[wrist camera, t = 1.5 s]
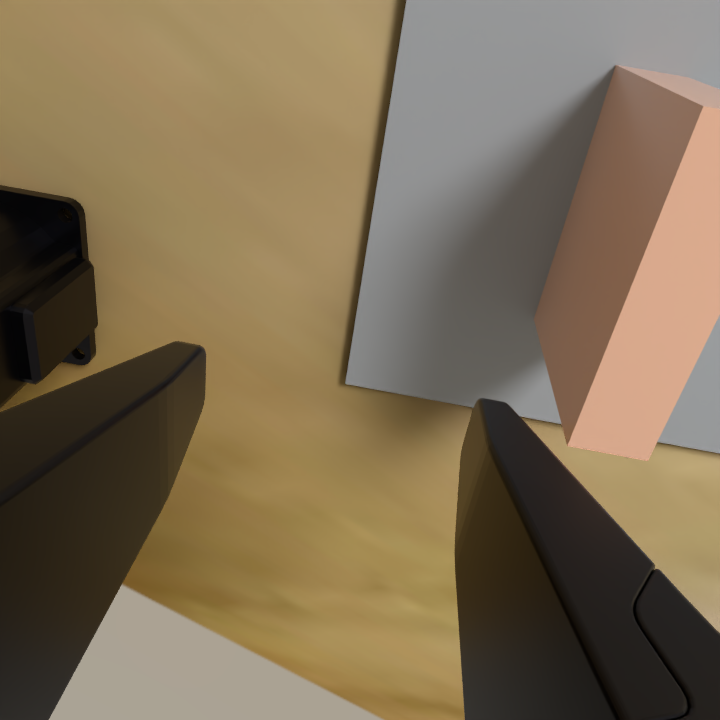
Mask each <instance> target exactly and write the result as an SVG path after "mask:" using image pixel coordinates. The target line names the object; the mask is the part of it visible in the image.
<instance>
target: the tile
mask: <svg viewBox="0 0 720 720" xmlns="http://www.w3.org/2000/svg"><path fill="white" fill-rule="evenodd" d="M719 315H720V89H717V88H715V87H712V86H710V85H707V84H704V83H702V82H699V81H697V80H694V79H691V78H689V77H684V76H678V75H672V74H667V73H661V72H655V71H649V70H643V69H638V68H632V67H626V66H620V65H616V66H615V69H614V72H613V75H612V78H611V81H610V84H609V88H608V91H607V94H606V97H605V100H604V103H603V106H602V109H601V112H600V115H599V118H598V122H597V125H596V128H595V131H594V134H593V137H592V140H591V143H590V146H589V149H588V153H587V156H586V159H585V162H584V165H583V168H582V171H581V174H580V177H579V180H578V184H577V187H576V190H575V193H574V196H573V199H572V202H571V205H570V208H569V211H568V215H567V218H566V221H565V224H564V227H563V230H562V233H561V236H560V239H559V242H558V246H557V249H556V252H555V255H554V258H553V261H552V264H551V267H550V270H549V273H548V277H547V280H546V283H545V286H544V289H543V292H542V295H541V298H540V301H539V304H538V307H537V311H536V314H535V317H534V322H535V326H536V329H537V333H538V337H539V341H540V344H541V348H542V352H543V356H544V359H545V363H546V367H547V371H548V375H549V378H550V382H551V386H552V390H553V393H554V397H555V401H556V405H557V409H558V412H559V416H560V420H561V424H562V427H563V431H564V435H565V439H566V443H567V446H570V447H575V448H581V449H586V450H592V451H597V452H602V453H608V454H613V455H618V456H624V457H629V458H634V459H640V460H645V461H648V460H649V458H650V456H651V454H652V452H653V450H654V448H655V446H656V444H657V441H658V439H659V437H660V435H661V433H662V431H663V429H664V427H665V425H666V423H667V421H668V419H669V417H670V415H671V413H672V411H673V409H674V407H675V405H676V403H677V401H678V399H679V397H680V395H681V393H682V391H683V389H684V387H685V384H686V382H687V380H688V378H689V376H690V374H691V372H692V370H693V368H694V366H695V364H696V362H697V360H698V358H699V356H700V354H701V352H702V350H703V348H704V346H705V344H706V342H707V340H708V338H709V336H710V334H711V332H712V329H713V327H714V325H715V323H716V321H717V319H718V317H719Z"/></svg>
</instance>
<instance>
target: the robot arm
mask: <svg viewBox="0 0 720 720" xmlns="http://www.w3.org/2000/svg"><path fill="white" fill-rule="evenodd" d="M64 208H65V209H67V210H69V211H70V212H71V214H72V219H70V218H68V217H67V216H66V215H65V214H64V211H63V210H64ZM97 325H98V319H97V306H96V293H95V280H94V268H93V265H92V264H91V262H90V261H89V258H88V245H87V233H86V221H85V213H84V209H83V207H82V206H81V204H80V203H78V202H77V201H76V200H74V199H72V198H68V197H63V196H57V195H52V194H46V193H41V192H35V191H30V190H24V189H19V188H13V187H7V186H2V185H0V408H1V407H2V406H3V405H4V404H5V403H6V402H7V401H8V400H10V399H11V398H12V397H13V396H14V395H15V394H16V393H17V392H18V391H19V390H20V389H21V388H22V387H23V386H24V385H25V384H26V383H30V384H37V383H39V382H40V381H42V380H43V379H44V378H45V377H46V376H47V375H48V374H49V373H50V372H51V371H52V370H53V369H54V368H55V367H56V366H57V365H58V364H59V363H60V362H67V363H72V364H77V365H85V364H88V363H89V362H90V361H91V360H92V359H93V357H94V356H95V354H96V345H95V333H94V329H95V328H96V327H97ZM77 348H79V349H81V350H82V351H83V352H84V354H82V353H80V352H79V351H78V349H77ZM205 381H206V352H205V349H204V348H203V347H202V346H200V345H196V344H190V343H185V342H180V341H175V342H172V343H170V344H167V345H165V346H162V347H160V348H157V349H155V350H152V351H150V352H148V353H145V354H143V355H140V356H138V357H135V358H133V359H130V360H128V361H125V362H123V363H120V364H118V365H116V366H113V367H111V368H108V369H106V370H103V371H101V372H98V373H96V374H93V375H91V376H89V377H86V378H84V379H81V380H79V381H76V382H74V383H71V384H69V385H66V386H64V387H61V388H59V389H57V390H54V391H52V392H49V393H47V394H44V395H42V396H39V397H37V398H34V399H32V400H29V401H27V402H24V403H22V404H20V405H17V406H15V407H12V408H10V409H7V410H5V411H2V412H0V720H49V718H50V716H51V714H52V712H53V711H54V709H55V707H56V705H57V703H58V701H59V700H60V698H61V696H62V694H63V692H64V690H65V688H66V687H67V685H68V683H69V681H70V679H71V677H72V676H73V673H74V672H75V670H76V668H77V666H78V664H79V663H80V661H81V659H82V657H83V655H84V653H85V651H86V650H87V648H88V646H89V644H90V642H91V640H92V638H93V637H94V635H95V633H96V631H97V629H98V627H99V625H100V624H101V622H102V620H103V618H104V616H105V614H106V612H107V611H108V609H109V607H110V605H111V603H112V601H113V600H114V598H115V595H116V594H117V592H118V590H119V588H120V586H121V585H122V583H123V581H124V579H125V577H126V575H127V574H128V572H129V570H130V568H131V566H132V564H133V562H134V561H135V559H136V557H137V555H138V553H139V551H140V549H141V548H142V546H143V544H144V542H145V540H146V538H147V536H148V535H149V533H150V531H151V529H152V527H153V525H154V524H155V522H156V520H157V518H158V516H159V514H160V512H161V510H162V508H163V506H164V504H165V502H166V500H167V498H168V496H169V494H170V491H171V489H172V487H173V484H174V482H175V479H176V477H177V474H178V471H179V469H180V466H181V464H182V461H183V458H184V456H185V453H186V451H187V448H188V446H189V443H190V440H191V438H192V435H193V433H194V430H195V427H196V425H197V422H198V420H199V417H200V415H201V412H202V409H203V405H204V400H205ZM654 569H655V565H654V563H653V562H652V561H651V560H650V559H649V558H648V557H647V555H646V554H645V553H644V552H643V551H642V550H641V549H640V548H639V547H638V546H637V545H636V543H635V542H634V541H633V540H632V539H631V538H630V537H629V536H628V535H627V534H626V532H625V531H624V530H623V529H622V528H621V527H620V526H619V525H618V524H617V523H616V522H615V520H614V519H613V518H612V517H611V516H610V515H609V514H608V513H607V512H606V511H605V509H604V508H603V507H602V506H601V505H600V504H599V503H598V502H597V501H596V500H595V499H594V497H593V496H592V495H591V494H590V493H589V492H588V491H587V490H586V489H585V488H584V486H583V485H582V484H581V483H580V482H579V481H578V480H577V479H576V478H575V477H574V475H573V474H572V473H571V472H570V471H569V470H568V469H567V468H566V467H565V466H564V465H563V463H562V462H561V461H560V460H559V459H558V458H557V457H556V456H555V455H554V454H553V452H552V451H551V450H550V449H549V448H548V447H547V446H546V445H545V444H544V443H543V442H542V440H541V439H540V438H539V437H538V436H537V435H536V434H535V433H534V432H533V431H532V429H531V428H530V427H529V426H528V425H527V424H526V423H525V422H524V421H523V420H522V419H521V417H520V416H519V415H518V414H517V413H516V412H515V411H514V410H513V409H512V408H511V406H510V405H508V404H507V403H506V402H502V401H497V400H491V399H486V398H480V399H478V400H477V401H476V403H475V405H474V408H473V411H472V415H471V418H470V422H469V425H468V429H467V432H466V435H465V439H464V442H463V446H462V451H461V458H460V472H459V487H458V502H457V517H456V532H455V574H456V589H457V605H458V620H459V636H460V651H461V667H462V682H463V698H464V713H465V720H720V633H719V632H718V631H717V630H716V629H715V628H714V627H713V626H712V625H711V624H710V623H709V622H708V621H707V620H706V619H705V618H704V617H703V616H702V614H701V613H700V612H699V611H698V610H697V609H696V608H695V607H694V606H693V605H692V604H691V603H690V602H689V601H688V600H687V599H686V598H685V597H684V596H683V595H682V593H681V592H680V591H679V590H678V589H677V588H676V587H675V586H674V585H673V584H672V583H671V581H670V580H669V579H668V578H667V577H666V576H665V575H664V574H663V573H662V572H661V571H660V570H659V569H655V570H654ZM653 570H654V571H653Z"/></svg>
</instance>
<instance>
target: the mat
mask: <svg viewBox="0 0 720 720" xmlns="http://www.w3.org/2000/svg"><path fill="white" fill-rule="evenodd" d="M616 65H620V66H626V67H632V68H638V69H643V70H649V71H655V72H661V73H667V74H672V75H678V76H684V77H689V78H691V79H694V80H697V81H699V82H702V83H704V84H707V85H710V86H712V87H715V88H717V89H720V0H406V6H405V12H404V19H403V25H402V31H401V37H400V44H399V50H398V56H397V62H396V69H395V75H394V81H393V88H392V94H391V100H390V106H389V113H388V119H387V125H386V131H385V138H384V144H383V150H382V156H381V163H380V169H379V175H378V181H377V188H376V194H375V200H374V207H373V213H372V219H371V225H370V232H369V238H368V244H367V250H366V257H365V263H364V269H363V275H362V282H361V288H360V294H359V301H358V307H357V313H356V319H355V326H354V332H353V338H352V344H351V351H350V357H349V363H348V369H347V376H346V382H345V384H349V385H354V386H359V387H365V388H370V389H376V390H381V391H386V392H392V393H397V394H402V395H408V396H413V397H419V398H424V399H429V400H435V401H440V402H446V403H451V404H456V405H462V406H467V407H472V408H474V405H475V403H476V401H477V400H478V399H480V398H486V399H491V400H497V401H502V402H506V403H507V404H508V405H510V406H511V408H512V409H513V410H514V411H515V412H516V413H517V414H518V415H519V416H521V417H526V418H532V419H537V420H542V421H548V422H553V423H559V424H561V420H560V416H559V412H558V409H557V405H556V401H555V397H554V393H553V390H552V386H551V382H550V378H549V375H548V371H547V367H546V363H545V359H544V356H543V352H542V348H541V344H540V341H539V337H538V333H537V329H536V326H535V322H534V317H535V314H536V311H537V307H538V304H539V301H540V298H541V295H542V292H543V289H544V286H545V283H546V280H547V277H548V273H549V270H550V267H551V264H552V261H553V258H554V255H555V252H556V249H557V246H558V242H559V239H560V236H561V233H562V230H563V227H564V224H565V221H566V218H567V215H568V211H569V208H570V205H571V202H572V199H573V196H574V193H575V190H576V187H577V184H578V180H579V177H580V174H581V171H582V168H583V165H584V162H585V159H586V156H587V153H588V149H589V146H590V143H591V140H592V137H593V134H594V131H595V128H596V125H597V122H598V118H599V115H600V112H601V109H602V106H603V103H604V100H605V97H606V94H607V91H608V88H609V84H610V81H611V78H612V75H613V72H614V69H615V66H616ZM657 442H661V443H666V444H672V445H677V446H682V447H688V448H693V449H698V450H704V451H709V452H715V453H720V315H719V317H718V319H717V321H716V323H715V325H714V327H713V329H712V332H711V334H710V336H709V338H708V340H707V342H706V344H705V346H704V348H703V350H702V352H701V354H700V356H699V358H698V360H697V362H696V364H695V366H694V368H693V370H692V372H691V374H690V376H689V378H688V380H687V382H686V384H685V387H684V389H683V391H682V393H681V395H680V397H679V399H678V401H677V403H676V405H675V407H674V409H673V411H672V413H671V415H670V417H669V419H668V421H667V423H666V425H665V427H664V429H663V431H662V433H661V435H660V437H659V439H658V441H657Z"/></svg>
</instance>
